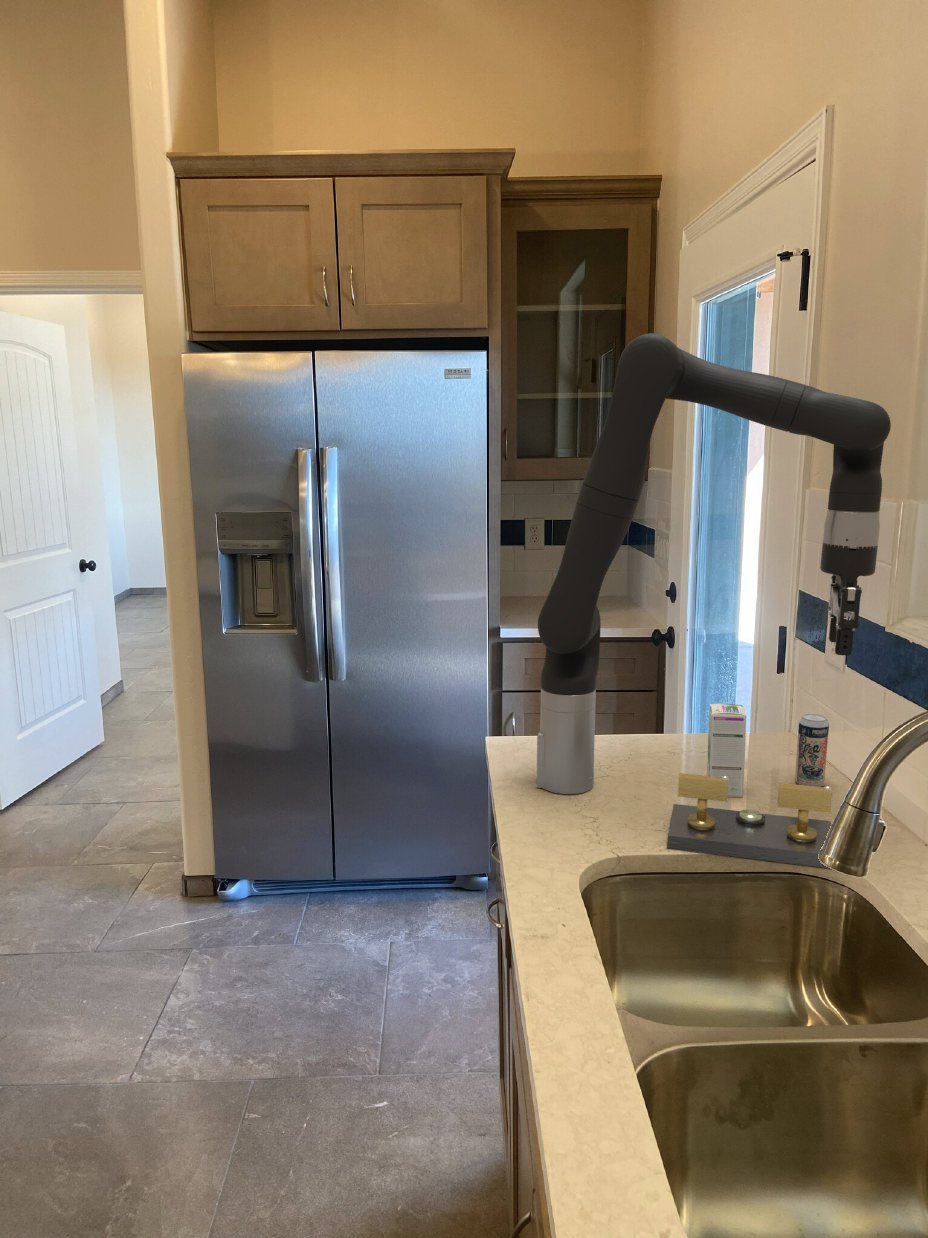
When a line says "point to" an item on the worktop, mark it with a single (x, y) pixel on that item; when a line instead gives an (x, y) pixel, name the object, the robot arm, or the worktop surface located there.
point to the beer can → (812, 750)
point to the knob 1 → (702, 796)
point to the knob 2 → (804, 807)
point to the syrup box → (727, 745)
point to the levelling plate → (746, 836)
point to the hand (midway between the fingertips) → (839, 648)
